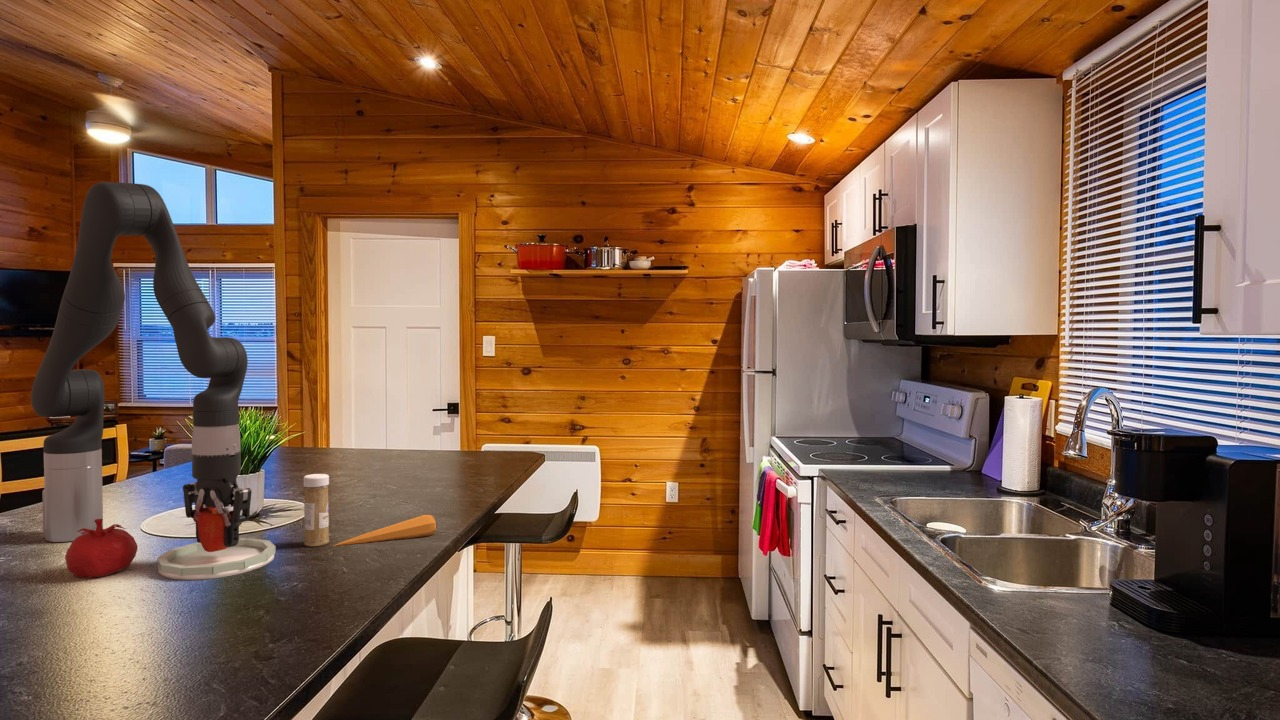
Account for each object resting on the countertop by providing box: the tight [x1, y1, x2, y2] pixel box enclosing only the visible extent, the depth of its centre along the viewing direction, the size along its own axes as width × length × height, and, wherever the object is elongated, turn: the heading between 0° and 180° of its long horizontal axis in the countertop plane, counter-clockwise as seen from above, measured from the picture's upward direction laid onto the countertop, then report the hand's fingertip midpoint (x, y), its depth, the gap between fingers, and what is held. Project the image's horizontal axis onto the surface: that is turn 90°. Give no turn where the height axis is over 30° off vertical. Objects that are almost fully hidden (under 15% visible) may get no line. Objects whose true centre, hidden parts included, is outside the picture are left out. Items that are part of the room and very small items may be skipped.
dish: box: [156, 537, 277, 581], centre depth 134 cm, size 18×18×2 cm
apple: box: [198, 508, 233, 552], centre depth 134 cm, size 6×6×8 cm
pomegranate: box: [64, 518, 138, 579], centre depth 128 cm, size 10×10×9 cm
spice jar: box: [303, 473, 330, 548], centre depth 146 cm, size 5×5×13 cm
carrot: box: [332, 514, 438, 547], centre depth 150 cm, size 20×4×4 cm, turn 119°
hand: (217, 543), depth 134 cm, fingers closed on apple, 6 cm apart
